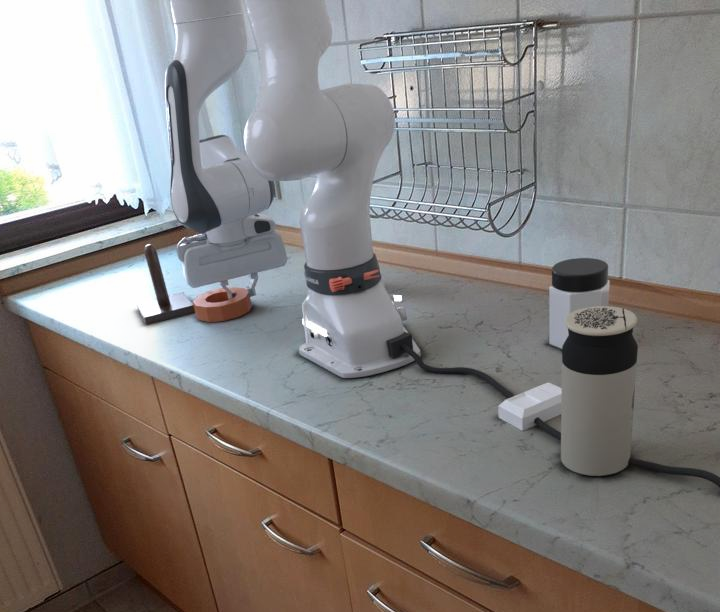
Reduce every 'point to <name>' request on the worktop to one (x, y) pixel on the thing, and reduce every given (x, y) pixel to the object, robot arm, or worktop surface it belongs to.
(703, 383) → the worktop surface
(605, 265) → the jar
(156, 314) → the peg stand
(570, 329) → the travel mug
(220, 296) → the ring
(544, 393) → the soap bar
